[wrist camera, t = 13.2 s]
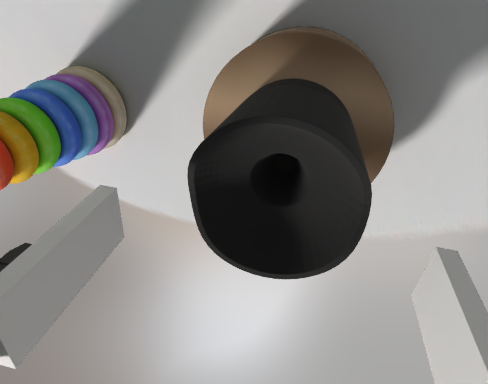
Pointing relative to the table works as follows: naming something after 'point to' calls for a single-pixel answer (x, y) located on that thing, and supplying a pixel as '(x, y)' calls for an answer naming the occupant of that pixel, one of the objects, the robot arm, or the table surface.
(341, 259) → the pen holder
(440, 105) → the table surface
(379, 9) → the table surface
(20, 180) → the stacking toy
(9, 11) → the table surface
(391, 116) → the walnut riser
